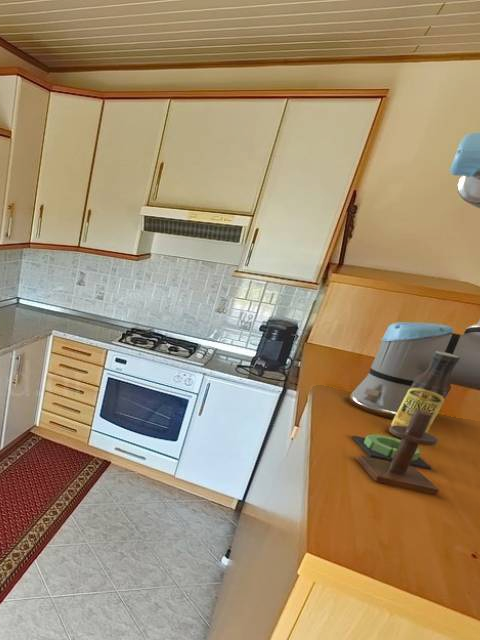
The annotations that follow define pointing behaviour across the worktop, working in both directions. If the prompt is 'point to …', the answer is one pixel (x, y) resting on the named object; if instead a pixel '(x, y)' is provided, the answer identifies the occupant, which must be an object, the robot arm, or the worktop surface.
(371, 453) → the mat
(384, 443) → the ring
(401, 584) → the worktop surface
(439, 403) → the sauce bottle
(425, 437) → the peg stand
